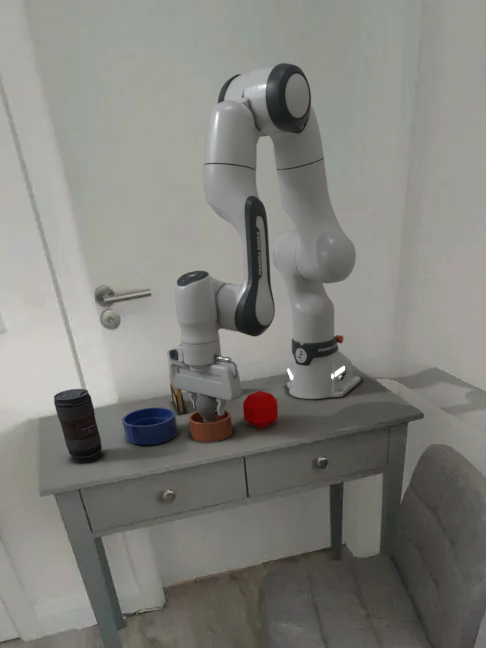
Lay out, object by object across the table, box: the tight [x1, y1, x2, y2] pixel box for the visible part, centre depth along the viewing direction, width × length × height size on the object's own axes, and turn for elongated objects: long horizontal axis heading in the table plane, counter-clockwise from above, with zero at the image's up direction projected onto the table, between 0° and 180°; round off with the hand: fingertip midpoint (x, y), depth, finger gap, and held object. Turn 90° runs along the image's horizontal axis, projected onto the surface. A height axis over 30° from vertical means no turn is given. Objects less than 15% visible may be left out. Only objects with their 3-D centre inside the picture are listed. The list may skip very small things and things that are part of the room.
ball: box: [242, 390, 279, 430], centre depth 151 cm, size 8×8×8 cm
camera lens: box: [53, 388, 103, 464], centre depth 139 cm, size 8×8×15 cm
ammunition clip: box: [168, 358, 186, 415], centre depth 163 cm, size 11×2×12 cm, turn 16°
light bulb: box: [196, 394, 219, 423], centre depth 147 cm, size 6×6×10 cm
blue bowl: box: [121, 406, 179, 446], centre depth 150 cm, size 13×13×5 cm
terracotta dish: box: [188, 409, 233, 443], centre depth 149 cm, size 10×10×4 cm
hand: (208, 412), depth 147 cm, fingers closed on light bulb, 6 cm apart
